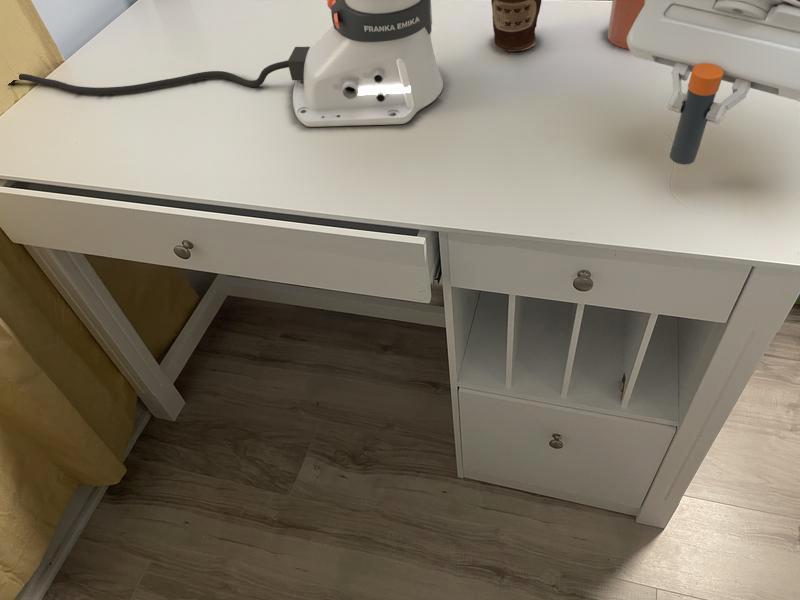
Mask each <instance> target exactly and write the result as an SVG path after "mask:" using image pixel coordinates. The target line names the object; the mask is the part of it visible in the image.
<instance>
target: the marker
mask: <svg viewBox="0 0 800 600" xmlns="http://www.w3.org/2000/svg"><path fill="white" fill-rule="evenodd" d="M722 76H723V70H722V68H721V67H719V66H717V65H714V64H709V63H702V64H698V65H696V66H695V67H694V68H693V70H692V72H690V77H689V81H688V84H687V91H686V94H687V95H686V99H685V102H684V106H683V109H682V113H680V117H679V121H678V124H677V128H676V132H675V135H674V139H673V143H672V146H671V150H670V152H669V158H670V160H671V161H672V162H674V163H676V164H678V165H691V164H693V163H694V162H695V161H696V158H697V155H698V152H699V149H700V146H701V143H702V140H703V136H704V134H705V130H706V126H707V123H708V121H706V119H705V118H706V115H707V113H708V111H710V106H711V105H712V103H713V102H715V98H716V95H717V92H719V89H720V86H721V82H722V80H721V79H722Z"/></svg>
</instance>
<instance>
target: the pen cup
mask: <svg viewBox="0 0 800 600" xmlns="http://www.w3.org/2000/svg"><path fill="white" fill-rule="evenodd" d="M611 1H612V2H611V9H610V15H609V22H608V28H607V39H608V41H609V42H610V43H611V44H613V45H615V46H616V47H618V48H622V49H625V50H626V49H627V50H629V47H628V44H627V36H628V34H629V32H630V30H631V28H632V26H633V24H634V22H635V20H636V18H637V17H638V15H639V13H640V12H641V10H642V8H643V7H644V1H645V0H611Z"/></svg>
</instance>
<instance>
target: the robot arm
mask: <svg viewBox="0 0 800 600" xmlns="http://www.w3.org/2000/svg"><path fill="white" fill-rule="evenodd" d="M326 4H327V5H326V6H327V7H328V9H329V10H330V13H331V15H330V16H331V20H332V25H331V26H330V27H329V29H328V30H327V31H325V32H324V33H323V35H321V36H320V37H319V38H318V39H317V40H316V41H315V42H313V44H312V45H311V46H294V48H293V51H292V52H291V54H290V55H289V58H288V59H287V60H283V61H279V62H275V63H272V64H269V65H267V66H266V67H264V68H263V69H262V71H260V74H259V75H258V77H257V78H256V79H254V80H249V79H246V78H243V77H241V76H238V75H237V74H234V73H232V72H228V71H223V70H208V71H202V72H195V73H191V74H187V75H186V74H185V75H182V76H177V77H171V78H166V79H165V78H164V79H160V80H154V81H150V82H145V83H138V84H131V85H123V86H110V87H109V86H107V87H105V86H103V87H92V86H91V87H90V86H78V85H72V84H68V83H66V82H63V81H59V80H56V79H52V78H44V77H40V76H35V75H32V74H28V73H19V74H20V75H19V79H20V80H13V81H12V82H11V83H9V84H8V85H7V86H9V87H10V86H13V85H15V84H16V83H17V82H18V81H26V82H31V83H35V84H39V85H44V86H50V87H55V88H58V89H61V90H65V91H68V92H72V93H77V94H87V95H88V94H89V95H114V94H115V95H116V94H127V93H128V94H129V93H134V92H135V93H136V92H141V91H146V90H153V89H157V88H164V87H169V86H174V85H179V84H184V83H185V84H186V83H189V82H194V81H199V80H205V79H215V78H216V79H217V78H218V79H226V80H229V81H232V82H234V83H237V84H239V85H241V86H245V87H247V88H248V87H249V88H257V87H260V86H261V85H263V83H264V82H265V80H266V78H267V77H268V75H269V74H271V73H273V72H276V71H278V70H282V69H286V68H288V69H289V75H290V78H291V81H296V82H295V83H294V87H293V90H292V104H293V105H292V106H293V110H294V114H295V117H296V118H297V119H298V121H299V122H300V123H301V124H302V125H304V126H305V127H312V128H313V127H317V128H318V127H343V126H344V127H345V126H347V127H348V126H349V127H350V126H378V125H379V126H380V125H404V124H406V123H408V122H410V120H412V119H413V118H414V116H415V115H416V114H417V113H418V112H419V111H421V110H422V109H424V108H426V107H427V106H429V105H430V104H432V103H433V102H434V101H435V100H436V99H437V98H438V97H439V96H440V94H441V93H442V91H443V88H444V81H443V77H442V75H441V73H440V69H439V67H438V62H437V60H436V55H435V51H434V47H433V46H434V45H433V41H432V35H431V34H432V25H433V10H432V8H433V7H432V0H326ZM627 44H628V47H629V49H628V50H629V52H630V53H631V55H632V56H633V57H635V58H638V59H641V60H645V61H648V62H653V63H656V64H660V65H664V66H668V67H671V68H672V70H671V78H672V89H673V93H672V95H671V98H670V99H669V102H668V105H667V109H668V110H669V111H671V112H675V113H677V114H678V113H679V114H681V113H682V109H683V106H684V102H685V99H686V95H687V93H684V92H683V88H682V81H684V82H686V81H688V78H689V76H690V75H691V73H692V70H693V68H694V67H695V66H696V65H698V64H702V63H709V64H714V65H717V66H719V67H721V68H722V70H723V76H722V79H721V82H722V81H723V82H727V83H731V84H732V86H731V91H732V94H730V95H729V96H728V97H727V98H725V99H724V100H723V101H721V103H719V102H715V101H713V103H712V105H711V106H710V111H708V113H707V115H706V118H705V119H706V121H707V123H712V124H715V125H719V126H720V125H721V124H722V122H723V120H724V117H725V116H726V114H727V112H728V111H730V110H731V109H732V108H734V107H735V106H736V105H738V104H739V103H741V102H742V101H743V100H744V99H746V97H747V96H748V93H749V92H750V90H751V89H752V90H757V91H760V92H763V93H767V94H770V95H775V96H778V97H782V98H786V99H789V100H793V101H797V102H800V0H645V1H644V7H643V8H642V10H641V12H640V13H639V15H638V17H637V18H636V20H635V22H634V24H633V26H632V28H631V30H630V32H629V34H628V36H627Z"/></svg>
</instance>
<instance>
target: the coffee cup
mask: <svg viewBox="0 0 800 600" xmlns="http://www.w3.org/2000/svg"><path fill="white" fill-rule="evenodd" d="M490 1H491V3H490V4H491V13H492V27H493V34H494V35H493V36H494V38H493V39H494V45H495V46H496V47H497V48H498V49H499V50H502V51H507V52H520V51H525V50H528V49H530V48H532V47H534V46H535V45H536V40H537V38H536V28H537V26H538V25H537V24H538V17H539V14H540V10H541V6H542V0H490Z"/></svg>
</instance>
